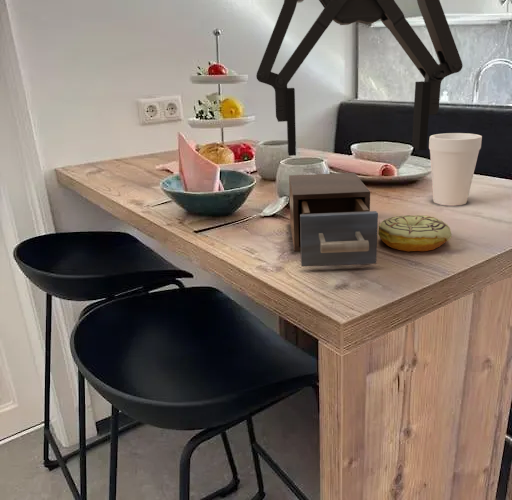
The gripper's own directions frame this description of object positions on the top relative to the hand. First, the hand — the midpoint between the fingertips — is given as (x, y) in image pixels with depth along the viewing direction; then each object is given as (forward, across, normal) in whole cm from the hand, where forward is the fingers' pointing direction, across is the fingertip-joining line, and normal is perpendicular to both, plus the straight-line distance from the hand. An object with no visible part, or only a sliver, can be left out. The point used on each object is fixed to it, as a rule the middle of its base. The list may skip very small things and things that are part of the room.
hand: (355, 151), depth 52 cm
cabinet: (+19, 0, -28) cm, 34 cm away
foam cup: (+19, -27, -47) cm, 57 cm away
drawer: (+18, 0, -16) cm, 24 cm away
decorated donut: (+19, -13, -23) cm, 32 cm away
